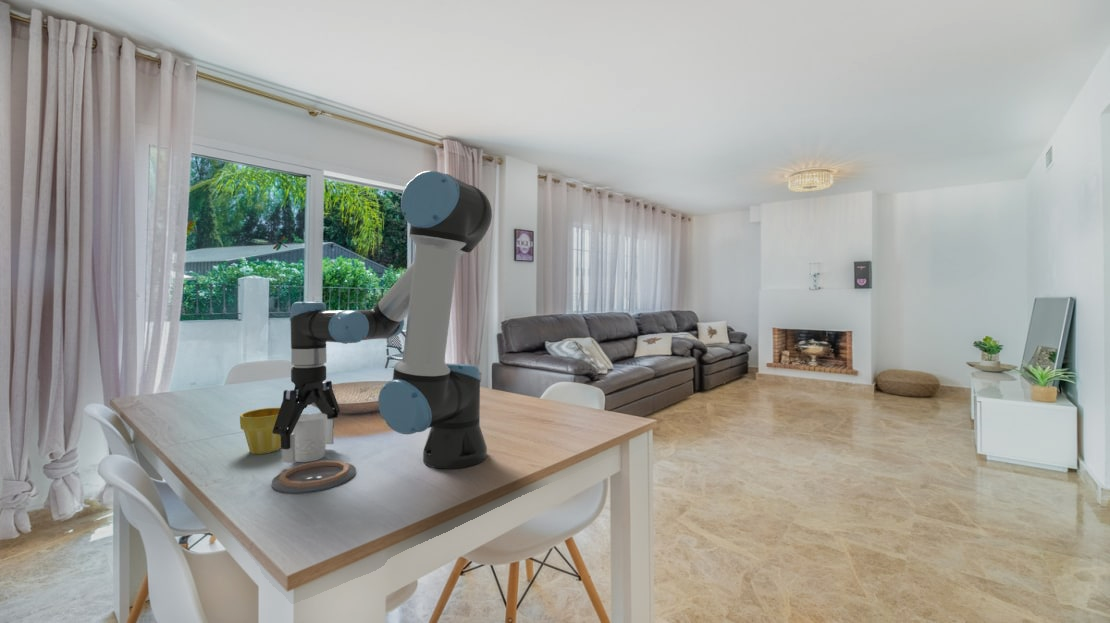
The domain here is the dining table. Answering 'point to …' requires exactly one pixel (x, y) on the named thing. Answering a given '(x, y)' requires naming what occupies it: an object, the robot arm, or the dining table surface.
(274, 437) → the plant pot
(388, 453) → the dining table surface
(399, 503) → the dining table surface
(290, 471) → the trivet
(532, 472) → the dining table surface
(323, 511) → the dining table surface
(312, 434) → the white cup
